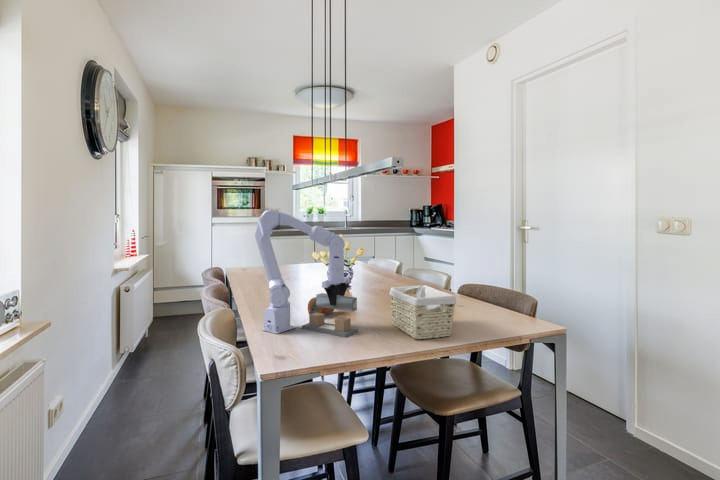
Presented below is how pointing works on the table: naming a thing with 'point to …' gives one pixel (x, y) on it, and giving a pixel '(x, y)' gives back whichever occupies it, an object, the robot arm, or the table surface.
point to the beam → (337, 302)
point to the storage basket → (422, 311)
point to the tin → (318, 308)
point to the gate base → (330, 325)
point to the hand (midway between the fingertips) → (336, 304)
